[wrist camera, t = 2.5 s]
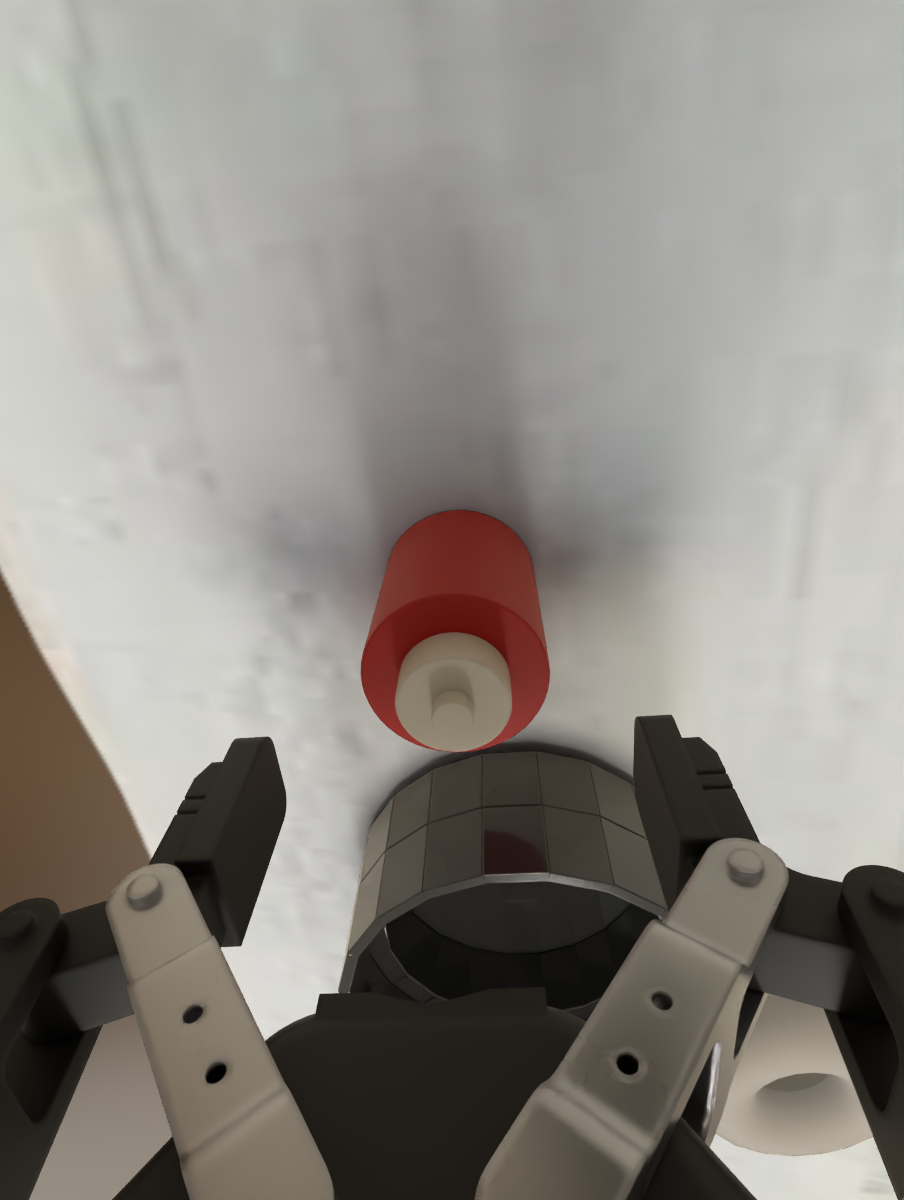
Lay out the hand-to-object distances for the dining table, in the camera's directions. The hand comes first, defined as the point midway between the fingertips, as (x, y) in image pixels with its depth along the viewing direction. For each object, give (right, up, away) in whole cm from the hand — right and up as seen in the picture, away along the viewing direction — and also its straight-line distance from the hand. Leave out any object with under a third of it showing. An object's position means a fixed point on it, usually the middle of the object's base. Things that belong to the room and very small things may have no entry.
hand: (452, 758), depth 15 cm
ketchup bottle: (0, +4, +7) cm, 9 cm away
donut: (+16, -17, +18) cm, 29 cm away
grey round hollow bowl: (+3, -7, +13) cm, 15 cm away
